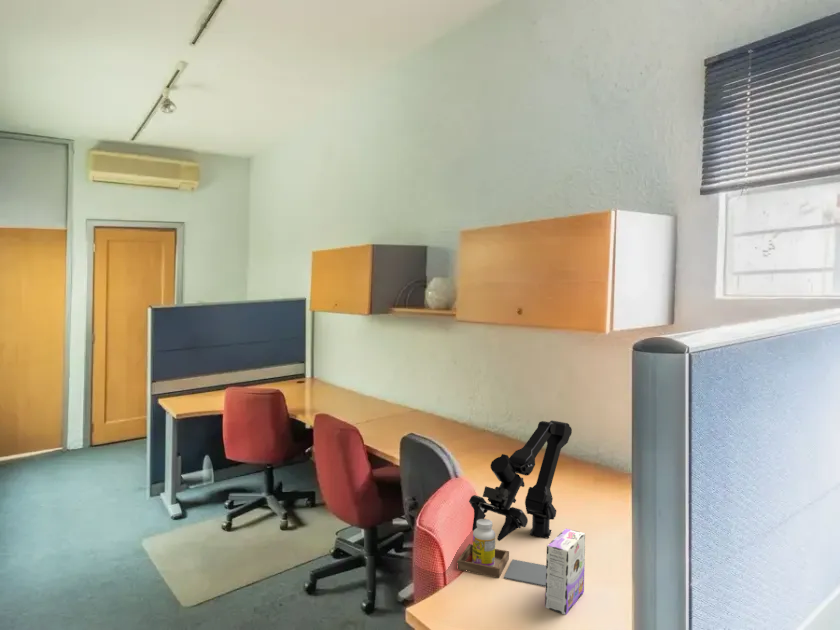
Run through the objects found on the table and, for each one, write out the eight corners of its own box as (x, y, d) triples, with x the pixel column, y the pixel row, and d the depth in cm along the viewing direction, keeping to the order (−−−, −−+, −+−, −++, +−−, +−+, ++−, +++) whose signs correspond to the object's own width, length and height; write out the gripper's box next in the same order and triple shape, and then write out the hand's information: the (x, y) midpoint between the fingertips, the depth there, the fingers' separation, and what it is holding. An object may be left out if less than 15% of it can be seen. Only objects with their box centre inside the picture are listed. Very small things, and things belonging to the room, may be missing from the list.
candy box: (563, 586, 154) (565, 527, 154) (584, 593, 151) (586, 532, 150) (544, 607, 143) (545, 544, 142) (566, 615, 139) (568, 550, 139)
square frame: (469, 551, 174) (469, 543, 174) (508, 559, 170) (509, 551, 170) (456, 569, 163) (456, 560, 163) (499, 577, 158) (499, 569, 158)
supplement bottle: (468, 561, 168) (469, 518, 168) (488, 557, 170) (489, 516, 170) (478, 571, 162) (479, 527, 162) (498, 567, 164) (499, 524, 164)
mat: (512, 560, 169) (512, 559, 169) (552, 568, 165) (552, 566, 165) (503, 578, 158) (503, 576, 158) (546, 587, 153) (546, 585, 153)
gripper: (473, 469, 177) (449, 512, 169) (523, 483, 164) (500, 530, 156) (487, 488, 182) (465, 531, 175) (537, 503, 170) (515, 550, 162)
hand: (485, 535), depth 166 cm, fingers open, 9 cm apart
